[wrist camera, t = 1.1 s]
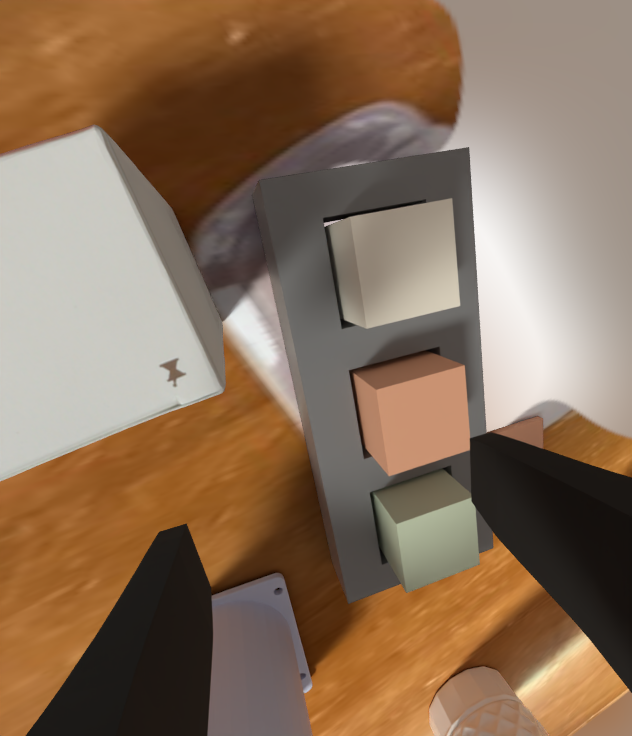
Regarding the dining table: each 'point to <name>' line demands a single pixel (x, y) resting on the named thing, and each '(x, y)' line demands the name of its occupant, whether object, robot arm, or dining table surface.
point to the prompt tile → (525, 431)
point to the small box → (94, 301)
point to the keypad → (364, 338)
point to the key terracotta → (411, 410)
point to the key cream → (394, 263)
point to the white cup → (481, 707)
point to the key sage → (426, 528)
